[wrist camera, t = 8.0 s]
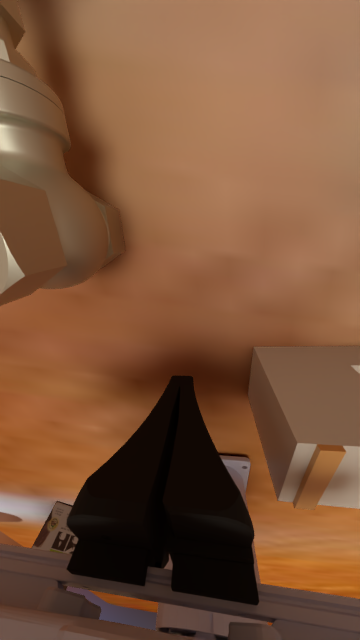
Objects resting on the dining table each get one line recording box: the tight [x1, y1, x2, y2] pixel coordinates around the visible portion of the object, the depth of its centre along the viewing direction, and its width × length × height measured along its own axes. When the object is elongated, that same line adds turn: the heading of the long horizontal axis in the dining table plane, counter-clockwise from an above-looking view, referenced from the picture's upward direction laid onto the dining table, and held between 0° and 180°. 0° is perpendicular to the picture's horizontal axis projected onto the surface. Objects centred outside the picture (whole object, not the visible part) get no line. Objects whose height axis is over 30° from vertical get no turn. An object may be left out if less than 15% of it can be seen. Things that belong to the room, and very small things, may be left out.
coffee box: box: [32, 502, 78, 590], centre depth 22 cm, size 9×6×16 cm
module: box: [248, 346, 360, 510], centre depth 10 cm, size 4×7×6 cm
